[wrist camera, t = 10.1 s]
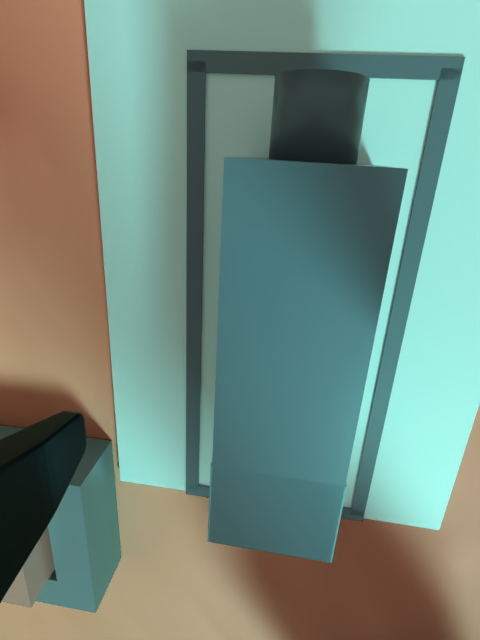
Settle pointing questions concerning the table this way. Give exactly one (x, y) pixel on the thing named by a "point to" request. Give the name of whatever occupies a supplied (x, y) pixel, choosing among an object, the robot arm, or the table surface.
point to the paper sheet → (206, 219)
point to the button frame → (83, 531)
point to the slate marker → (297, 316)
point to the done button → (32, 574)
